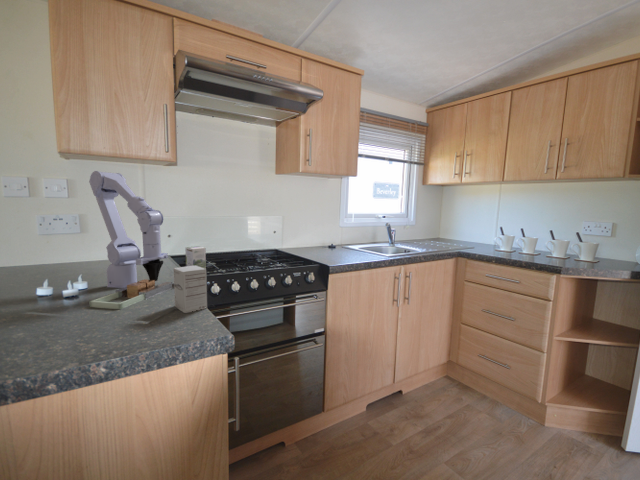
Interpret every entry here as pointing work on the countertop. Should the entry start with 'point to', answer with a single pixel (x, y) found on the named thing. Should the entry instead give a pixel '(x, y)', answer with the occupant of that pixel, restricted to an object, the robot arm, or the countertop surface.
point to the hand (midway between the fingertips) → (153, 280)
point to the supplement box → (190, 288)
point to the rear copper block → (148, 283)
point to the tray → (113, 305)
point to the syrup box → (196, 256)
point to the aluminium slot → (148, 290)
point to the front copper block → (135, 289)
